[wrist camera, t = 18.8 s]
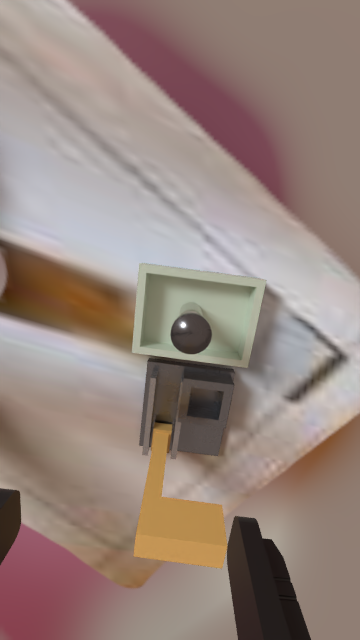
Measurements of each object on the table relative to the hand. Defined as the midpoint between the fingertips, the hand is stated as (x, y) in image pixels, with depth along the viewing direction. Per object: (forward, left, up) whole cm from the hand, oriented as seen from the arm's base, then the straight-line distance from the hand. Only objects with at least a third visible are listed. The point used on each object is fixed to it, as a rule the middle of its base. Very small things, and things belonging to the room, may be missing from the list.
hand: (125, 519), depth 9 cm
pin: (+2, +2, -27) cm, 27 cm away
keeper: (+4, -18, -26) cm, 32 cm away
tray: (+3, +2, -27) cm, 28 cm away
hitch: (+3, -13, -27) cm, 31 cm away
